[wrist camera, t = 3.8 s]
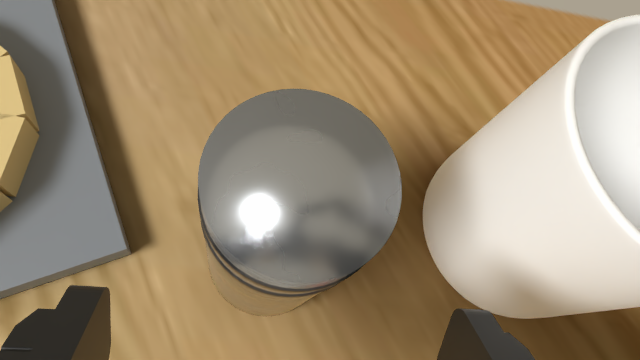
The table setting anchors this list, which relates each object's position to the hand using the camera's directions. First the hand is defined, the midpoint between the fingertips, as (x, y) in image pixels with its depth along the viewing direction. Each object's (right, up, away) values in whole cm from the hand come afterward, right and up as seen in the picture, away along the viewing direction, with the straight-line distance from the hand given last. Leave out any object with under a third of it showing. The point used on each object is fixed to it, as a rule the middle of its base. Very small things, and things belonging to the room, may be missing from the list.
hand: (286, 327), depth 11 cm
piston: (-1, 0, +9) cm, 9 cm away
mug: (+11, 0, +12) cm, 16 cm away
